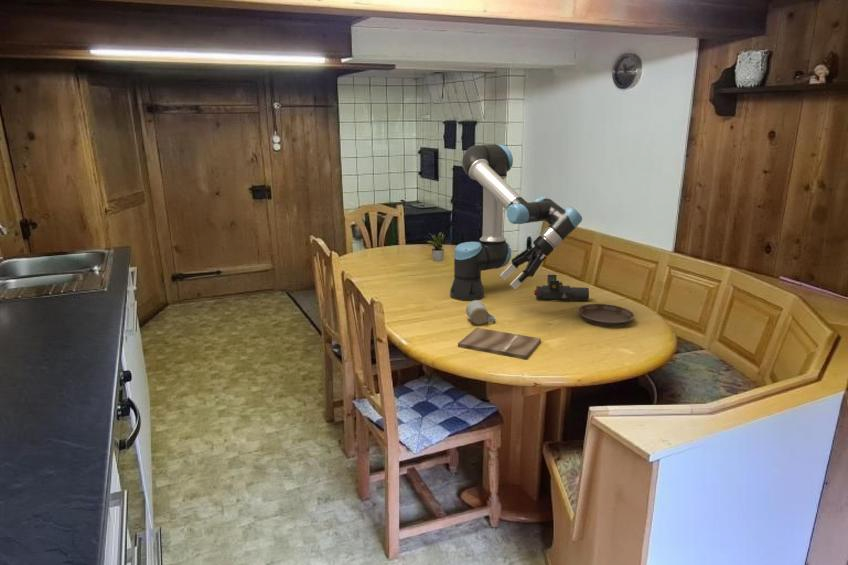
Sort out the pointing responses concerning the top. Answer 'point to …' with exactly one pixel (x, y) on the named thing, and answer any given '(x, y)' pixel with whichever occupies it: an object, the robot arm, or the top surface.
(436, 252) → the house plant
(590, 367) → the top surface
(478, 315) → the ceramic mug
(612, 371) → the top surface
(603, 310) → the plant saucer
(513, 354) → the board
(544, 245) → the robot arm
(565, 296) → the laser sight
